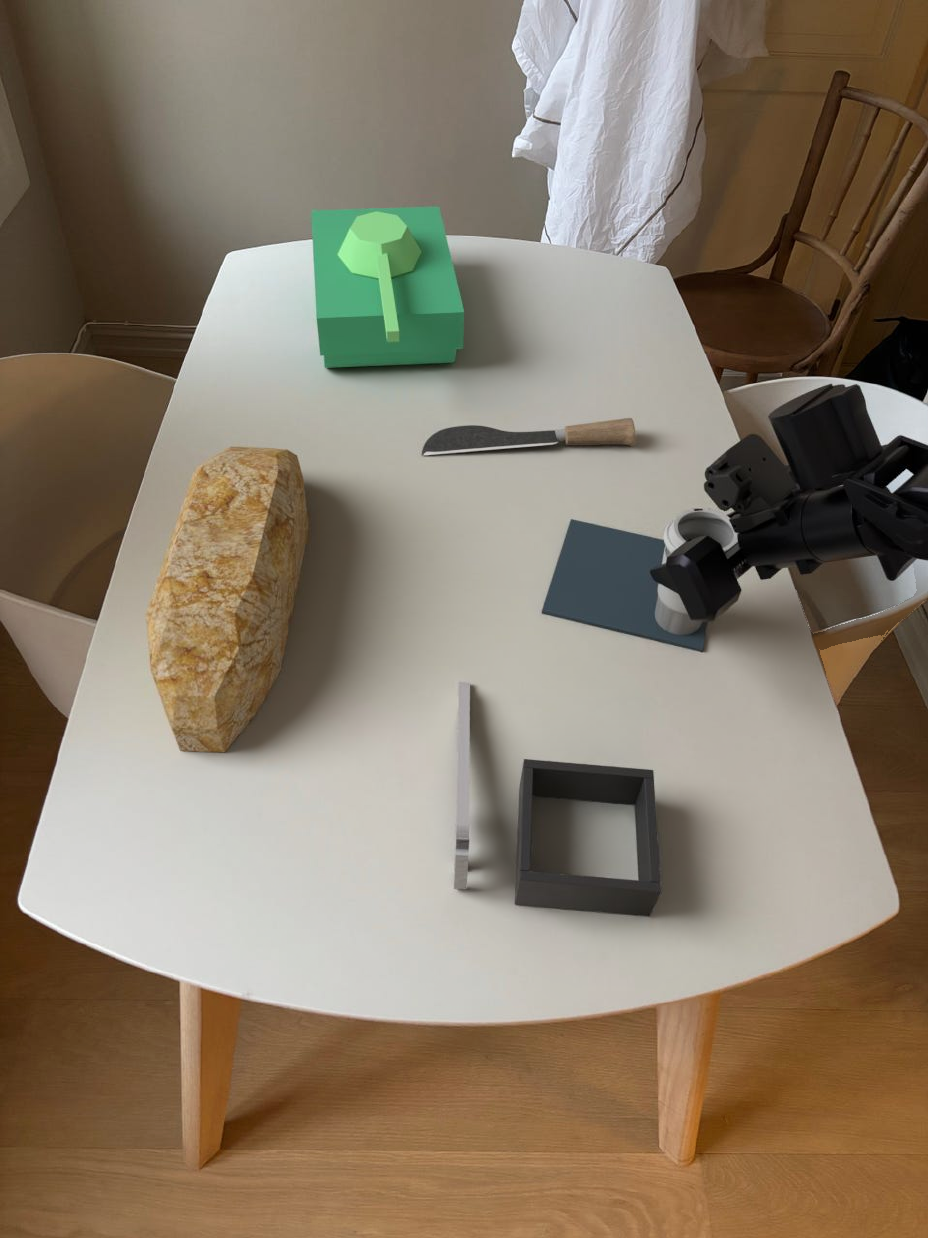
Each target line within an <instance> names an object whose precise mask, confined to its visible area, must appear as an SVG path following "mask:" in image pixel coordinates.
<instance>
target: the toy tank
mask: <svg viewBox="0 0 928 1238" xmlns="http://www.w3.org/2000/svg"><path fill="white" fill-rule="evenodd" d="M310 216H311V235H312V236H311V237H312V250H313V251H312V253H313V254H312V255H313V273H314V274H313V275H314V292H315V293H314V294H315V314H316V325H317V326H316V327H317V337H318V346H319V348H318V349H319V356H323V363H324V365H323V367H324V369H328V368H329V369H330V368H333V369H334V368H353V367H355V368H356V367H378V366H380V367H381V366H382V367H383V366H403V365H426V364H427V365H429V364H450V363H451V364H452V363H455V361H456V358H457V350H464V337H465V336H464V335H465V334H464V333H465V309H464V305H463V300H462V296H461V292H460V288H459V284H458V280H457V275H456V270H455V267H454V264H453V259H452V255H451V251H450V246H449V243H448V238H447V235H446V230H445V225H444V221H443V218H442V217H443V216H442V213H441V209H440V206H417V207H416V206H411V207H409V206H408V207H377V208H376V207H375V208H341V209H339V208H337V209H311V210H310Z"/></svg>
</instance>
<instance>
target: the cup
mask: <svg viewBox="0 0 928 1238" xmlns="http://www.w3.org/2000/svg"><path fill="white" fill-rule="evenodd" d="M726 515H727V514H725V513H723V512H720V511H718V510H716V509H713V508H712V509H711V508H706V507H695V508H689V509H686V510H683V511H682V512H680V513H679V514H677V515H676V517H675V518H674V519H672V520H671V521H670V522H669V523H668V525H667V526H666V527H665V529H664V532H663V540H664V542H665V545H666V546H665V550H664V555H663V561H662V564H664V563H666V559H667V557H668V556H669V555H670V554H672V552H673V551H674V550H676V549H677V548H678V547H680V546H681V545H682V544H684V543H685V542H686V541H687V540H689V539H691V540H693V539H695V538H697V537H701V536H707V535H708V536H709V537H711V538H713V539H714V540H716V541H717V542H719V543H720V544H721V546H722V548H723V550H724V552H726V551H727V550H728V549H729V548H731V547H732V546H733V545H734V544H736V543H737V542H738V539H737V534H738V533H735V532H734V530H733V528H732V525H731V523H730V521H729V519H730V518H729V517H728V516H726ZM655 619H656V621H657V623H658V624H659V625H660V626H661V627H662V628H663V629H664V630H666V631H668V632H670V633H673V634H677V635H688V634H691V633H694V632H695V631H697V630H698V629H699V627H700V625H701V623H702V622H696V621H693V620H691V619H690V617H689V615H688V613H687V611H686V609H685V607H684V604H683V602H682V600H681V598H680V596H679V594H677V593H676V592H674V591H672V590H670V589H668V588H666V587H665V586H663V585H661V584H658V598H657V603H656V609H655Z"/></svg>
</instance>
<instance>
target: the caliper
mask: <svg viewBox="0 0 928 1238" xmlns="http://www.w3.org/2000/svg"><path fill="white" fill-rule="evenodd" d="M457 721H458V722H457V758H456V759H457V760H456V761H457V762H456V763H457V764H456V804H455V839H454V840H455V843H454V844H455V845H454V866H453V869H454V870H453V871H454V874H453V877H454V878H453V890H467V885H468V875H469V857H470V855H469V854H470V848H469V847H470V740H471V739H470V734H471V733H470V732H471V731H470V729H471V728H470V727H471V724H470V723H471V683H470V681H467V682H465V681H459V683H458V717H457Z"/></svg>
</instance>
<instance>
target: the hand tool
mask: <svg viewBox="0 0 928 1238" xmlns="http://www.w3.org/2000/svg"><path fill="white" fill-rule="evenodd" d="M559 442H564V443H565V445H566V446H593V445H594V446H595V445H599V446H600V445H624V446H634V445H635V443H636V427H635V422H634V420H633V418H632V417H625V418H617V419H610V420H602V421H594V422H586V423H580V424H571V425H566V426H564V428H561V429H551V430H535V431H509V430H502V429H498V428H494V427H490V426H485V425H475V424H473V425H470V424H469V425H457V426H451V427H446V428H443V429H440V430H437V431H436V432H435V433H433V434H432V435H431V436H430V437H429V438H427V440H426V441H425V442H424V444H423V447H422V451H421V456H435V455H445V454H457V453H467V452H468V453H470V452H480V451H493V450H503V449H515V448H528V447H539V446H540V447H542V446H550V445H551V446H552V445H556V444H558V443H559Z"/></svg>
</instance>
